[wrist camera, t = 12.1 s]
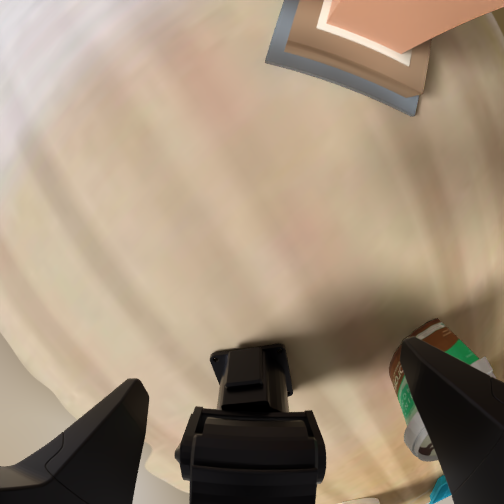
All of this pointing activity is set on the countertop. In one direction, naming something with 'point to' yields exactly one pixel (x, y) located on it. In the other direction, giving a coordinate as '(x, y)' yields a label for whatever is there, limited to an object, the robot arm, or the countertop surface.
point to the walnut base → (347, 56)
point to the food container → (415, 430)
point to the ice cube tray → (440, 490)
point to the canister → (362, 501)
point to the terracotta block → (405, 18)
